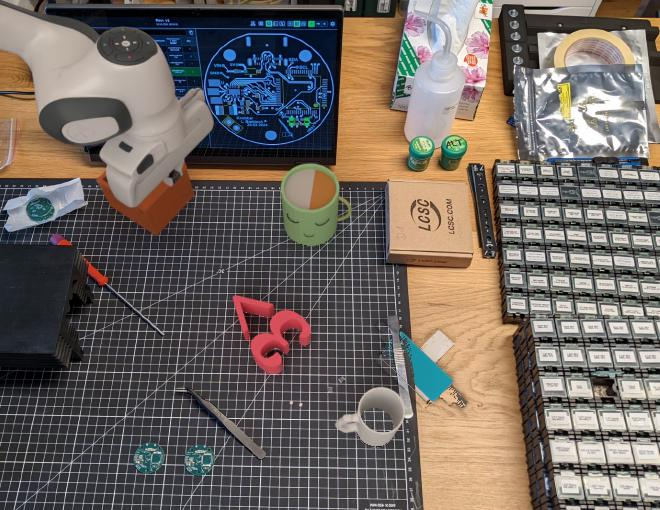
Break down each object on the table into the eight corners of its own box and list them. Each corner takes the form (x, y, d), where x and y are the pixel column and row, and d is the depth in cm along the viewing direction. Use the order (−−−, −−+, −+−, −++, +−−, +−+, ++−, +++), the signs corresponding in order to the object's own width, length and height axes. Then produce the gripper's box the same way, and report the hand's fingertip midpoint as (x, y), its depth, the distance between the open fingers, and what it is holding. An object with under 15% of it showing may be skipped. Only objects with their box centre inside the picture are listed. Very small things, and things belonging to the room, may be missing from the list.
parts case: (110, 206, 118) (95, 180, 111) (149, 167, 123) (138, 139, 115) (156, 236, 116) (145, 211, 108) (194, 195, 120) (186, 168, 112)
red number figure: (216, 326, 108) (211, 315, 103) (258, 287, 111) (256, 275, 107) (273, 381, 103) (271, 372, 99) (315, 339, 107) (315, 329, 102)
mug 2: (391, 404, 102) (399, 383, 91) (399, 445, 99) (409, 429, 88) (330, 413, 101) (332, 394, 90) (337, 455, 98) (340, 441, 87)
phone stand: (490, 379, 104) (493, 376, 103) (443, 428, 100) (445, 426, 99) (403, 299, 111) (404, 295, 109) (356, 343, 107) (356, 339, 105)
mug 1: (279, 244, 115) (276, 210, 105) (288, 197, 120) (285, 160, 109) (347, 252, 115) (350, 219, 104) (352, 204, 120) (356, 168, 109)
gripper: (184, 73, 96) (199, 130, 108) (90, 161, 88) (117, 212, 100) (216, 91, 95) (227, 146, 107) (123, 182, 87) (147, 231, 99)
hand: (173, 179), depth 104 cm, fingers closed
